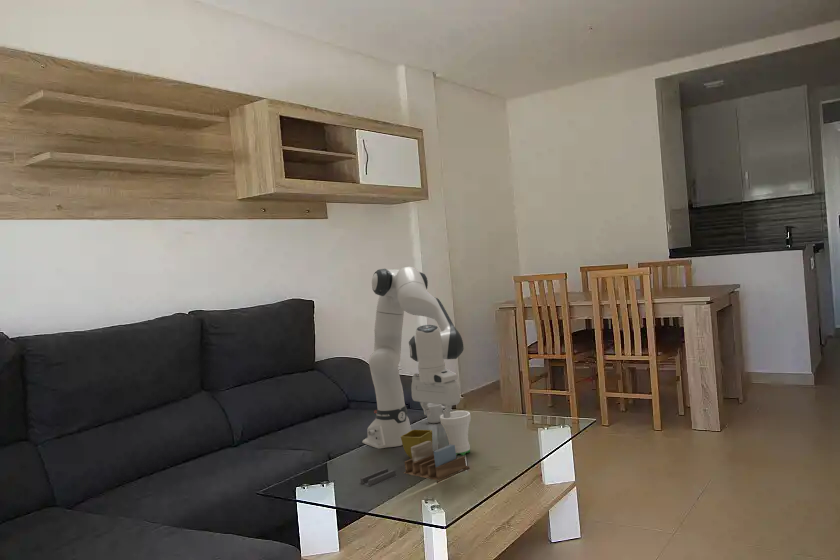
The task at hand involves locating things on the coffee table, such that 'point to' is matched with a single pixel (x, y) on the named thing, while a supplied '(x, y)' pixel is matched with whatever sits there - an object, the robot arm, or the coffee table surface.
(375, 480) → the stand
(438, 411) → the cup
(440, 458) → the upright blue tile
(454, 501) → the coffee table surface
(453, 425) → the cup
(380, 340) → the robot arm
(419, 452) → the rack
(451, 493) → the coffee table surface
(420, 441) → the flower pot
